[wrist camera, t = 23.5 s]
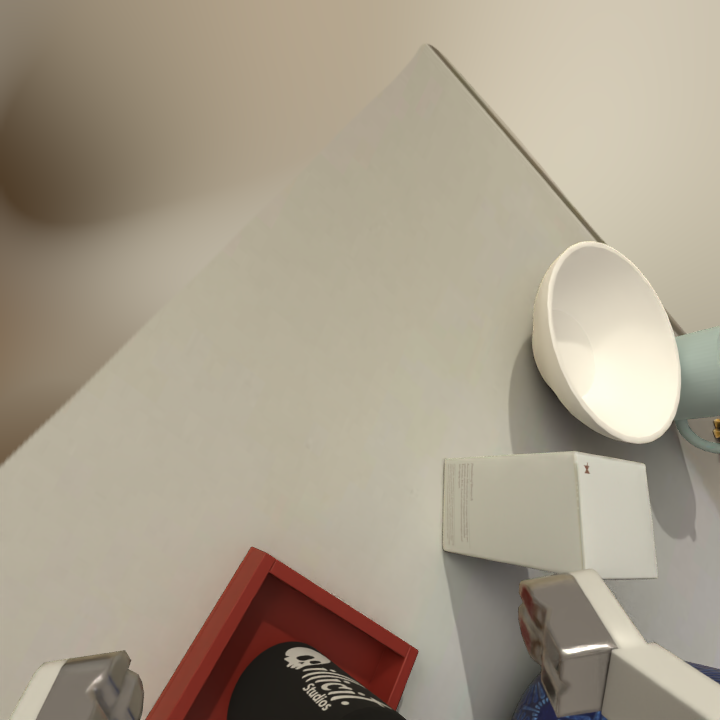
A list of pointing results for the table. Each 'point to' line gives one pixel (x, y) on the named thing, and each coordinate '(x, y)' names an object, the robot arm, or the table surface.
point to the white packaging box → (551, 513)
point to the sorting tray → (279, 640)
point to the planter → (539, 716)
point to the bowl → (606, 344)
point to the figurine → (717, 428)
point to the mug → (699, 382)
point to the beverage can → (302, 689)
